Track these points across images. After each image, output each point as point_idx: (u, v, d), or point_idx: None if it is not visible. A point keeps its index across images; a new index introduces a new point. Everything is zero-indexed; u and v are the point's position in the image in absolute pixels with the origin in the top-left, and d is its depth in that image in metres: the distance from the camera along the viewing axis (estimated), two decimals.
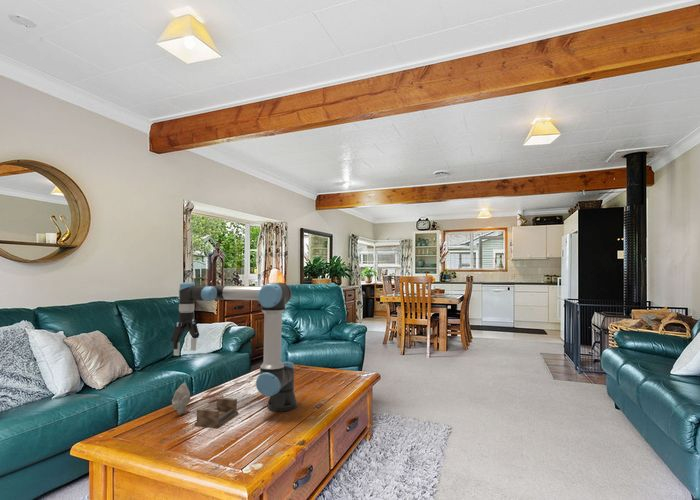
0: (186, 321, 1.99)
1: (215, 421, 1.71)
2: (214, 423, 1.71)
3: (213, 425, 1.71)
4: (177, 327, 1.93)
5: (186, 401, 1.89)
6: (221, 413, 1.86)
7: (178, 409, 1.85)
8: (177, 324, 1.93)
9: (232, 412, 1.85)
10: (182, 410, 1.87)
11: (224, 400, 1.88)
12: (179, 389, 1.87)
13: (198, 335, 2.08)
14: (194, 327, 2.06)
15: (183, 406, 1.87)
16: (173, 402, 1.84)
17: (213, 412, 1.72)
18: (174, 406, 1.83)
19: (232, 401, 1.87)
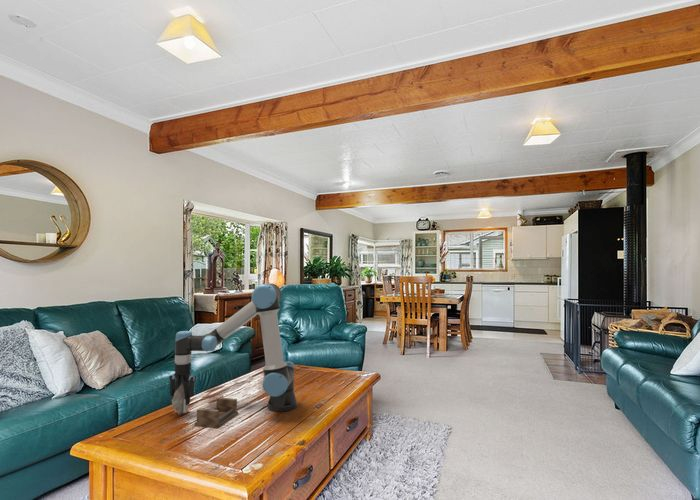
0: (177, 371, 1.88)
1: (215, 421, 1.71)
2: (214, 423, 1.71)
3: (213, 425, 1.71)
4: None
5: None
6: (221, 413, 1.86)
7: (178, 409, 1.85)
8: None
9: (232, 412, 1.85)
10: (182, 410, 1.87)
11: (224, 400, 1.88)
12: (179, 389, 1.87)
13: (189, 396, 1.86)
14: None
15: None
16: (173, 402, 1.84)
17: (213, 412, 1.72)
18: (174, 406, 1.83)
19: (232, 401, 1.87)
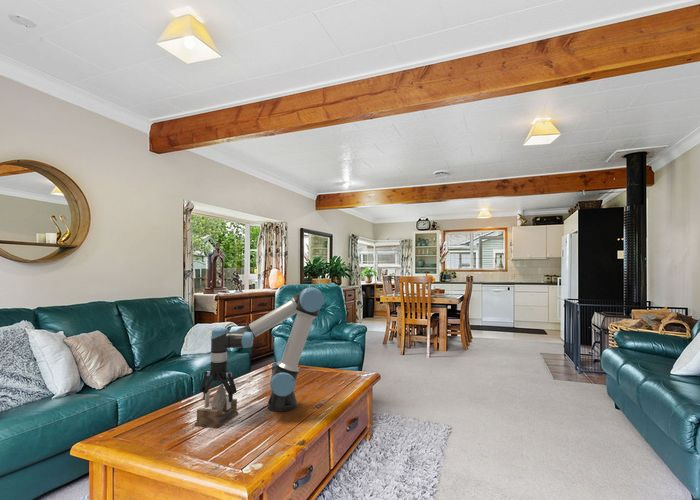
0: (214, 371, 1.82)
1: (215, 421, 1.71)
2: (214, 423, 1.71)
3: (213, 425, 1.71)
4: None
5: (223, 403, 1.82)
6: None
7: None
8: None
9: (232, 412, 1.85)
10: (220, 413, 1.80)
11: None
12: (218, 391, 1.80)
13: (232, 393, 1.79)
14: None
15: (221, 408, 1.80)
16: (213, 405, 1.76)
17: (213, 412, 1.72)
18: (213, 409, 1.76)
19: (232, 401, 1.87)
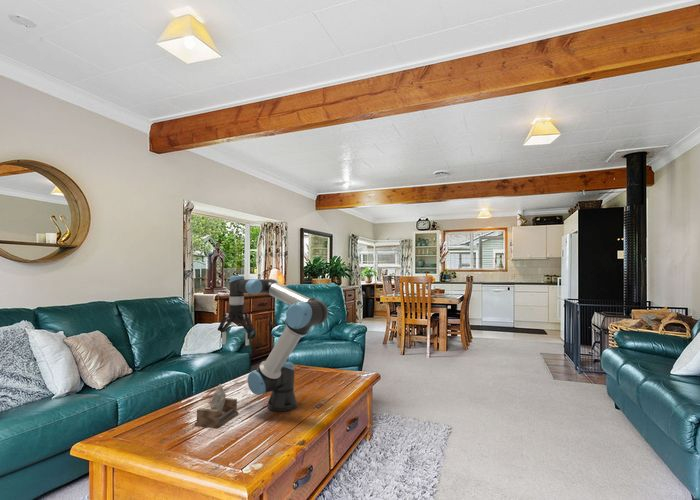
0: (233, 313, 2.02)
1: (215, 421, 1.71)
2: (214, 423, 1.71)
3: (213, 425, 1.71)
4: None
5: (223, 403, 1.82)
6: None
7: None
8: None
9: (232, 412, 1.85)
10: (220, 412, 1.80)
11: None
12: (217, 391, 1.80)
13: (250, 331, 1.99)
14: None
15: (221, 408, 1.80)
16: (212, 404, 1.77)
17: (213, 412, 1.72)
18: (213, 409, 1.77)
19: (232, 401, 1.87)
